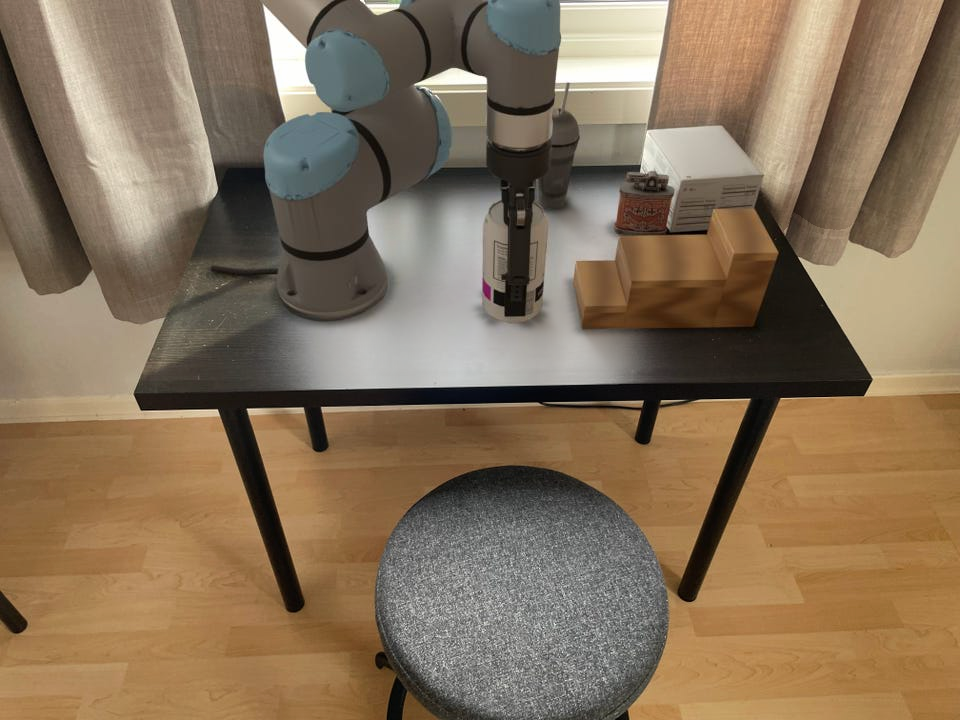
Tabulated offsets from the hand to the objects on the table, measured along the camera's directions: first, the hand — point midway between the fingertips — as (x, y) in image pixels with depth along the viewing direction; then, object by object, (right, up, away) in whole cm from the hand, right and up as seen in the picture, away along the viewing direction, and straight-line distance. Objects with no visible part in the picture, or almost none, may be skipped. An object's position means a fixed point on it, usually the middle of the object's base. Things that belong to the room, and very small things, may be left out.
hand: (512, 293), depth 100 cm
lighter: (+21, +11, +15) cm, 28 cm away
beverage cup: (+7, +17, +21) cm, 28 cm away
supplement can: (0, -2, +2) cm, 2 cm away
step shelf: (+21, -1, +2) cm, 21 cm away
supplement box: (+30, +17, +21) cm, 41 cm away
